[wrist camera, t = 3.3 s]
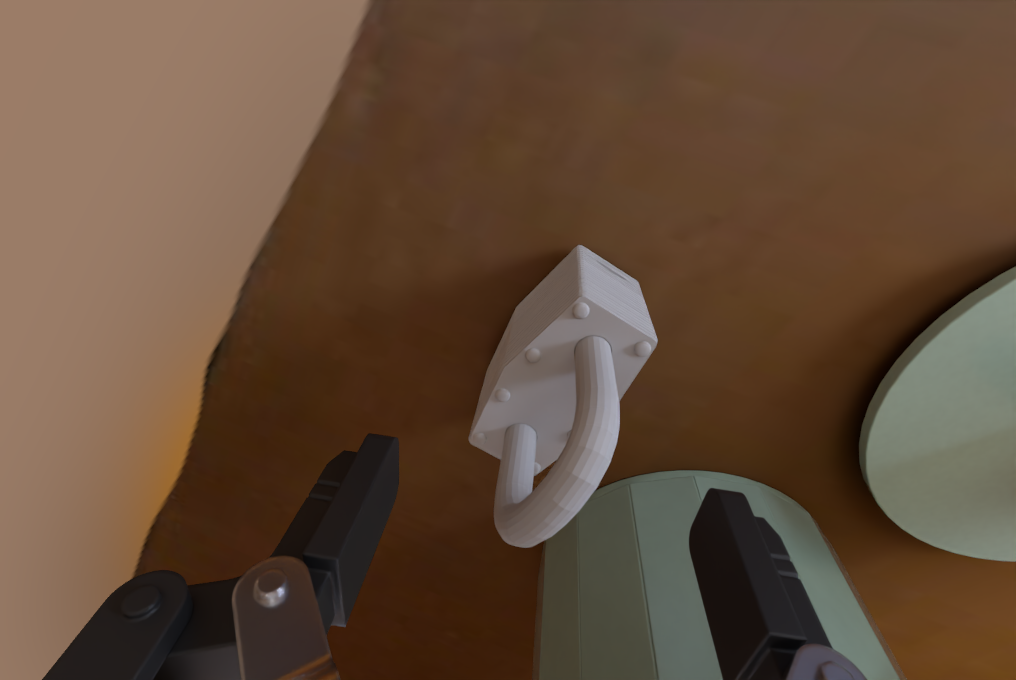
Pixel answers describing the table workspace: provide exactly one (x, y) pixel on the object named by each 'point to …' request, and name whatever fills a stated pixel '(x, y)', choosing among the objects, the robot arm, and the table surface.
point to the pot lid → (951, 429)
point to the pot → (673, 584)
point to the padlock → (560, 392)
